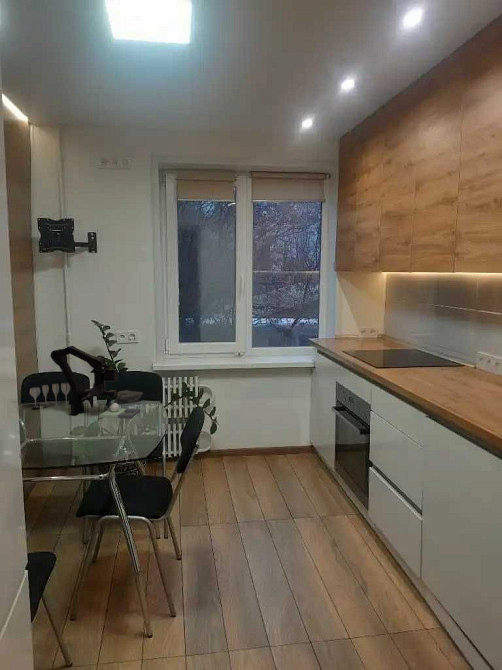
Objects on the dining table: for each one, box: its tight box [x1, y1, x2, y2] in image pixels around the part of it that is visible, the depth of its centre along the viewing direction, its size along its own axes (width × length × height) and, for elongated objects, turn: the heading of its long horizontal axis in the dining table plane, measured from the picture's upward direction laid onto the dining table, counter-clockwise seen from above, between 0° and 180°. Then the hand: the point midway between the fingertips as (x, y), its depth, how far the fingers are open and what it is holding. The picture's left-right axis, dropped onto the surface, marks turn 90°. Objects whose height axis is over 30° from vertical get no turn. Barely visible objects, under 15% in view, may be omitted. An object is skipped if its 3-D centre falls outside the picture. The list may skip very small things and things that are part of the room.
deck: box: [99, 408, 141, 419], centre depth 277 cm, size 18×14×2 cm
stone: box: [113, 389, 145, 405], centre depth 300 cm, size 18×9×10 cm
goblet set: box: [29, 382, 71, 407], centre depth 296 cm, size 28×6×13 cm, turn 116°
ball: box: [109, 402, 120, 412], centre depth 277 cm, size 5×5×5 cm
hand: (100, 407), depth 278 cm, fingers open, 9 cm apart
